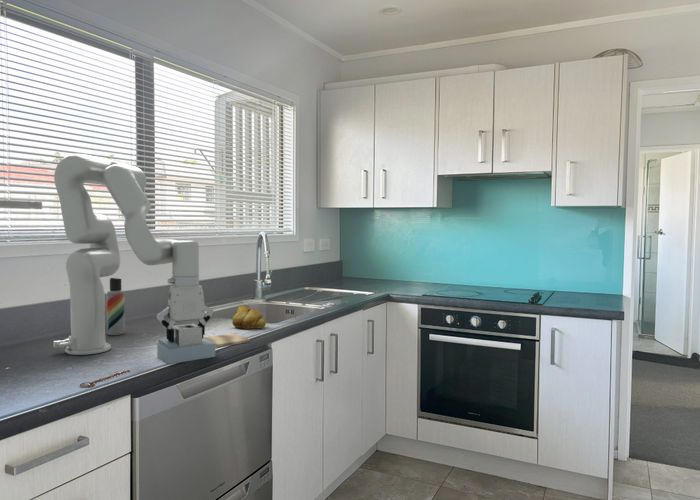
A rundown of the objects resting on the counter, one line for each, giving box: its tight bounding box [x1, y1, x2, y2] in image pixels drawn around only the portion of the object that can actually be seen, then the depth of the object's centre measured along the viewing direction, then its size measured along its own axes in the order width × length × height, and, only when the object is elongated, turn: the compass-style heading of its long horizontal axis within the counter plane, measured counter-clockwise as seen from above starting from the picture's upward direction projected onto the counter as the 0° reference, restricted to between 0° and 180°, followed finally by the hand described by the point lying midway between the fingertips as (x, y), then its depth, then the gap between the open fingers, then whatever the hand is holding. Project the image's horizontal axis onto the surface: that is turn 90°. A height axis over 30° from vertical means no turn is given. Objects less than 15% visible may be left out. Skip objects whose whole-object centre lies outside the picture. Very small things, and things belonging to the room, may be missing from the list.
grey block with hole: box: [172, 323, 202, 347], centre depth 158 cm, size 7×7×5 cm
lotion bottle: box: [106, 277, 126, 336], centre depth 187 cm, size 6×6×20 cm
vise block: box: [156, 328, 216, 365], centre depth 158 cm, size 14×10×8 cm
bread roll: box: [231, 305, 267, 330], centre depth 201 cm, size 13×10×8 cm
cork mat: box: [203, 333, 251, 348], centre depth 179 cm, size 12×12×1 cm
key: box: [79, 369, 131, 388], centre depth 136 cm, size 6×1×15 cm
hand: (185, 339), depth 158 cm, fingers open, 8 cm apart
